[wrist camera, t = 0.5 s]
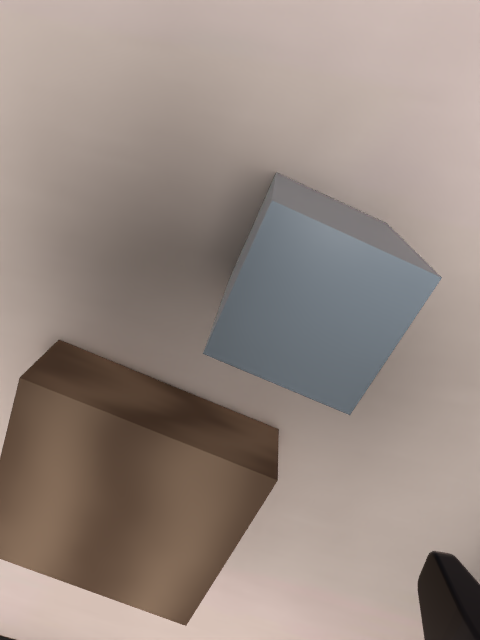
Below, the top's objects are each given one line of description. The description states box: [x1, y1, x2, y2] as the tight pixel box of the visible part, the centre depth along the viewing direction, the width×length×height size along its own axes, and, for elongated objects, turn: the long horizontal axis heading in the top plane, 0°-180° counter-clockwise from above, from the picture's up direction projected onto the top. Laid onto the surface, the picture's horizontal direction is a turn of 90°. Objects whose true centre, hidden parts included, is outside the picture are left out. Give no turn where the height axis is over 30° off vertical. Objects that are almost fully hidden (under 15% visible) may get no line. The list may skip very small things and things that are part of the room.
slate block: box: [203, 172, 442, 415], centre depth 16 cm, size 5×5×7 cm
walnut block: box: [0, 340, 279, 626], centre depth 23 cm, size 12×12×4 cm
